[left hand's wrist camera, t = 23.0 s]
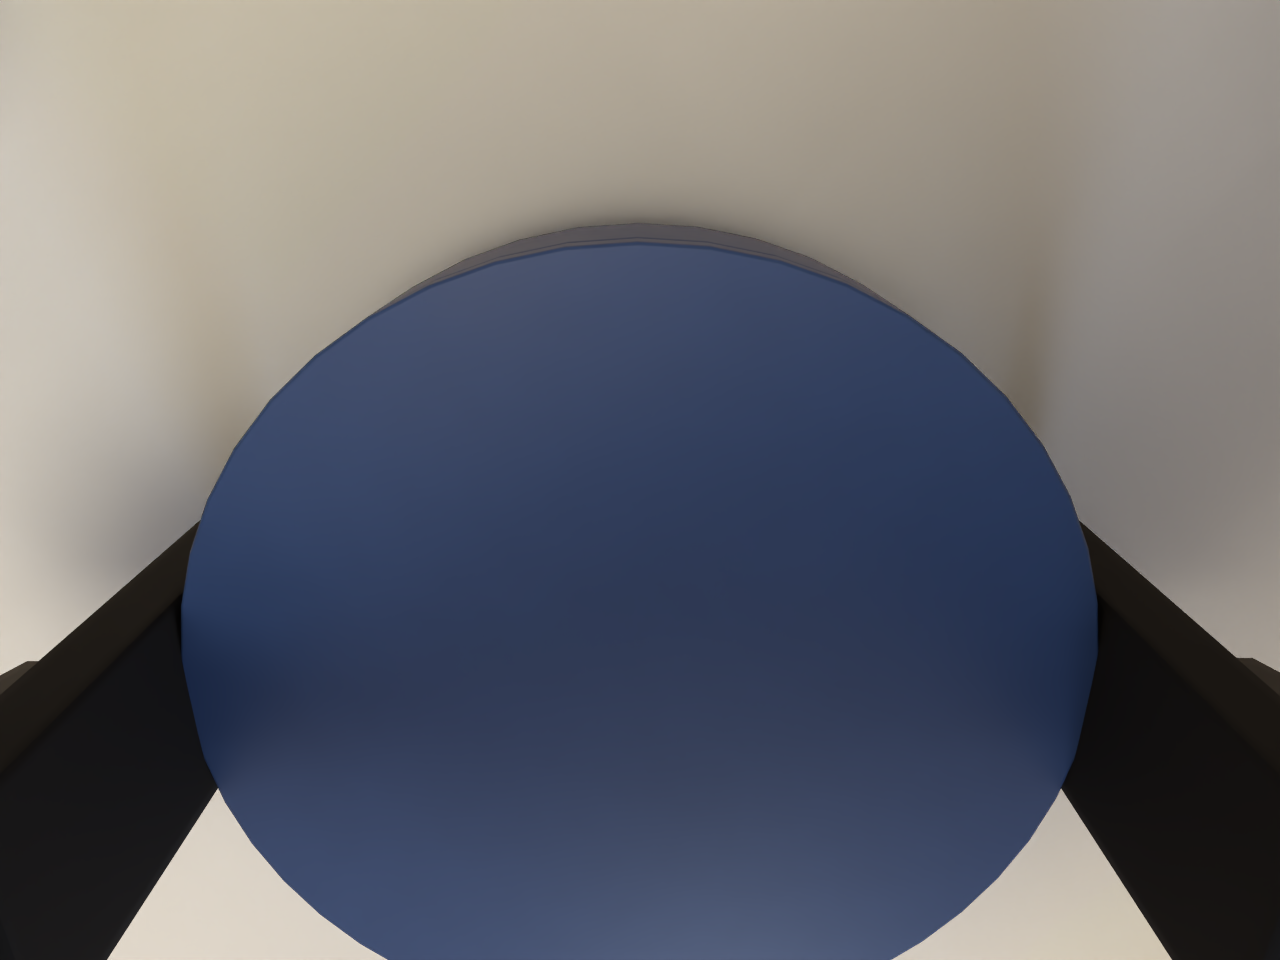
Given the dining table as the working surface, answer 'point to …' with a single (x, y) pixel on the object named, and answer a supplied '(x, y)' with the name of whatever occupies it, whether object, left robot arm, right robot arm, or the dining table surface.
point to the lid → (639, 614)
